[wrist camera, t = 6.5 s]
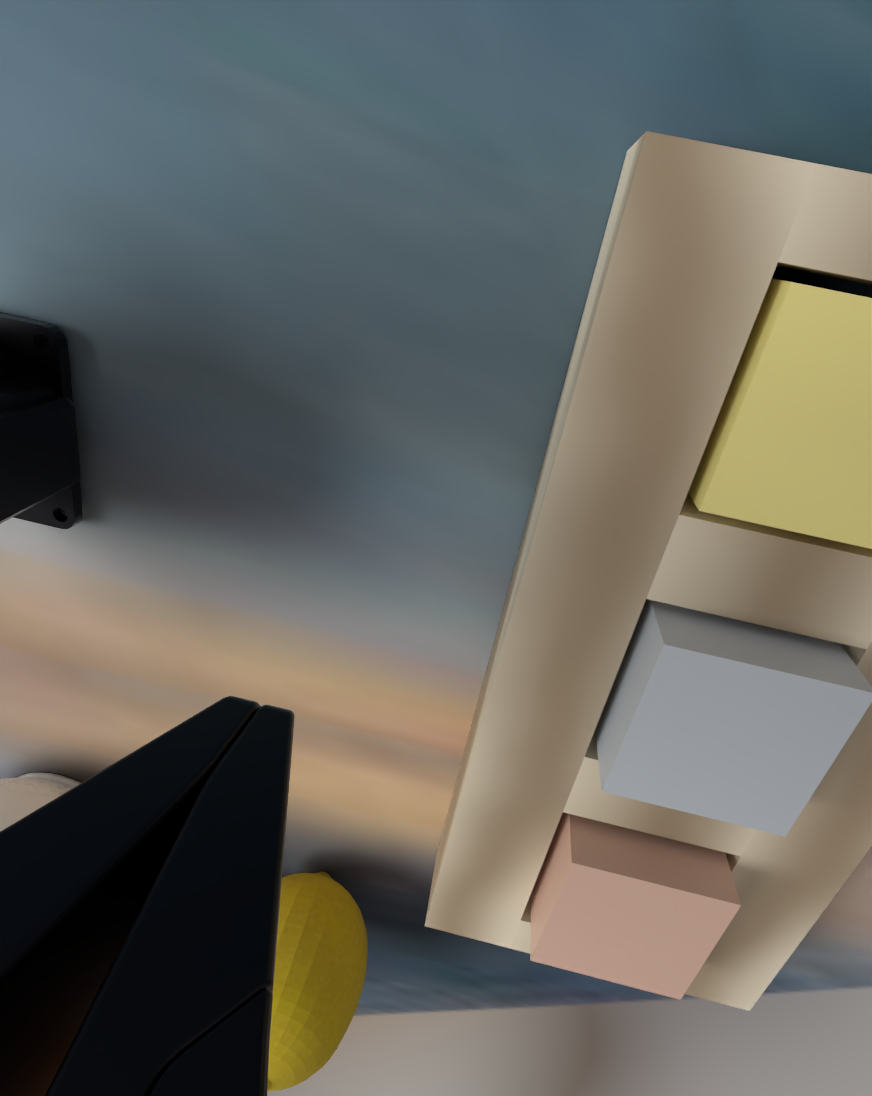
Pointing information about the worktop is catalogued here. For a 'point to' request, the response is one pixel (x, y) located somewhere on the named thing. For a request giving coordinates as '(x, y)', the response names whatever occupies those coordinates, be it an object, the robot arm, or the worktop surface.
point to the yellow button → (797, 420)
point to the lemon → (313, 975)
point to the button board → (663, 555)
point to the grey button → (726, 717)
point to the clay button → (629, 905)
